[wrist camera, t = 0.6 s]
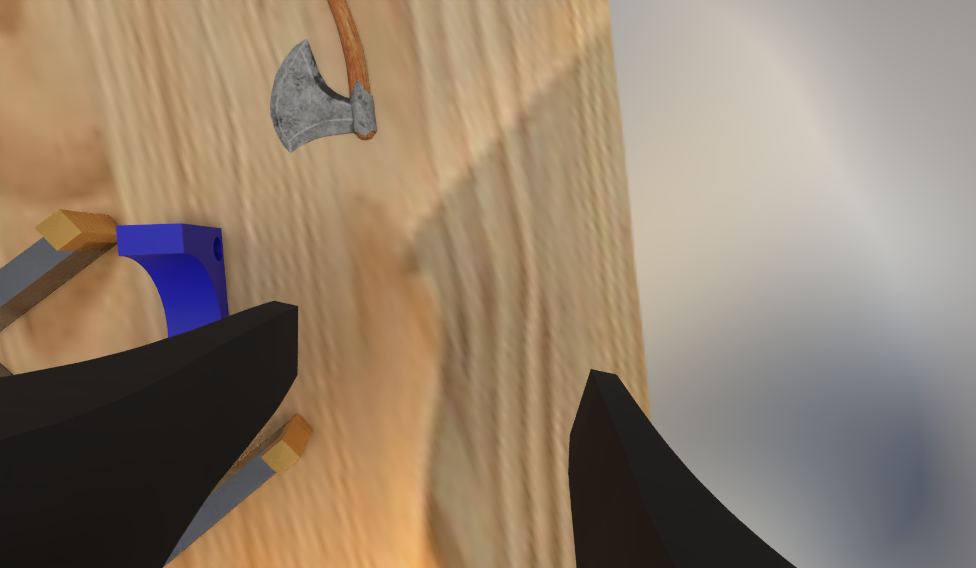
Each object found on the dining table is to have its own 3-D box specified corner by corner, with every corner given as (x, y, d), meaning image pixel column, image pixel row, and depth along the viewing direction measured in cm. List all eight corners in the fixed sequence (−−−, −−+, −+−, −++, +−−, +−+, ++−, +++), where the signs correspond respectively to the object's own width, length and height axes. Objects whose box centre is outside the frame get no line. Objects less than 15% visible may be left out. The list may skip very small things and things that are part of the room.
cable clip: (262, 412, 32) (232, 448, 26) (187, 420, 32) (139, 459, 26) (247, 227, 31) (213, 222, 26) (169, 230, 31) (115, 225, 25)
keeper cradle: (166, 553, 32) (129, 602, 27) (-62, 343, 29) (-146, 360, 24) (313, 430, 33) (300, 458, 28) (109, 215, 30) (59, 209, 25)
